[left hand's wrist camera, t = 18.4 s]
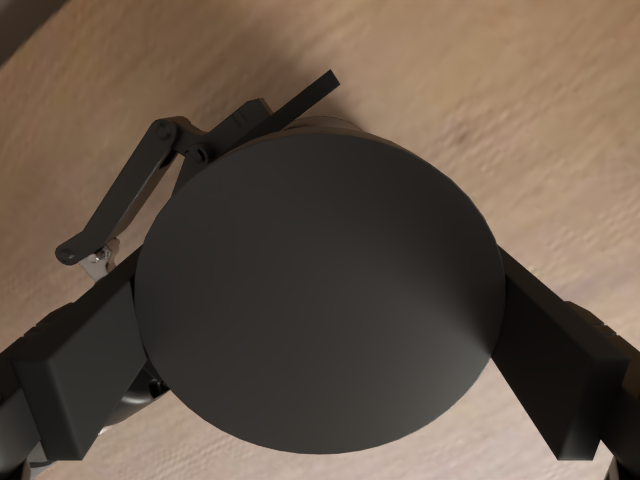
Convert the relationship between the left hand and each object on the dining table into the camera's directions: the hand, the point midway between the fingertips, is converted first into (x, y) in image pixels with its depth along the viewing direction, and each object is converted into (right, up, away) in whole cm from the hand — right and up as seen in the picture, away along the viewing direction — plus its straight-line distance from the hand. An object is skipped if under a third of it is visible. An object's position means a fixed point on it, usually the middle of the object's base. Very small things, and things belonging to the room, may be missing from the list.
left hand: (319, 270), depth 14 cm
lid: (0, -1, -3) cm, 3 cm away
